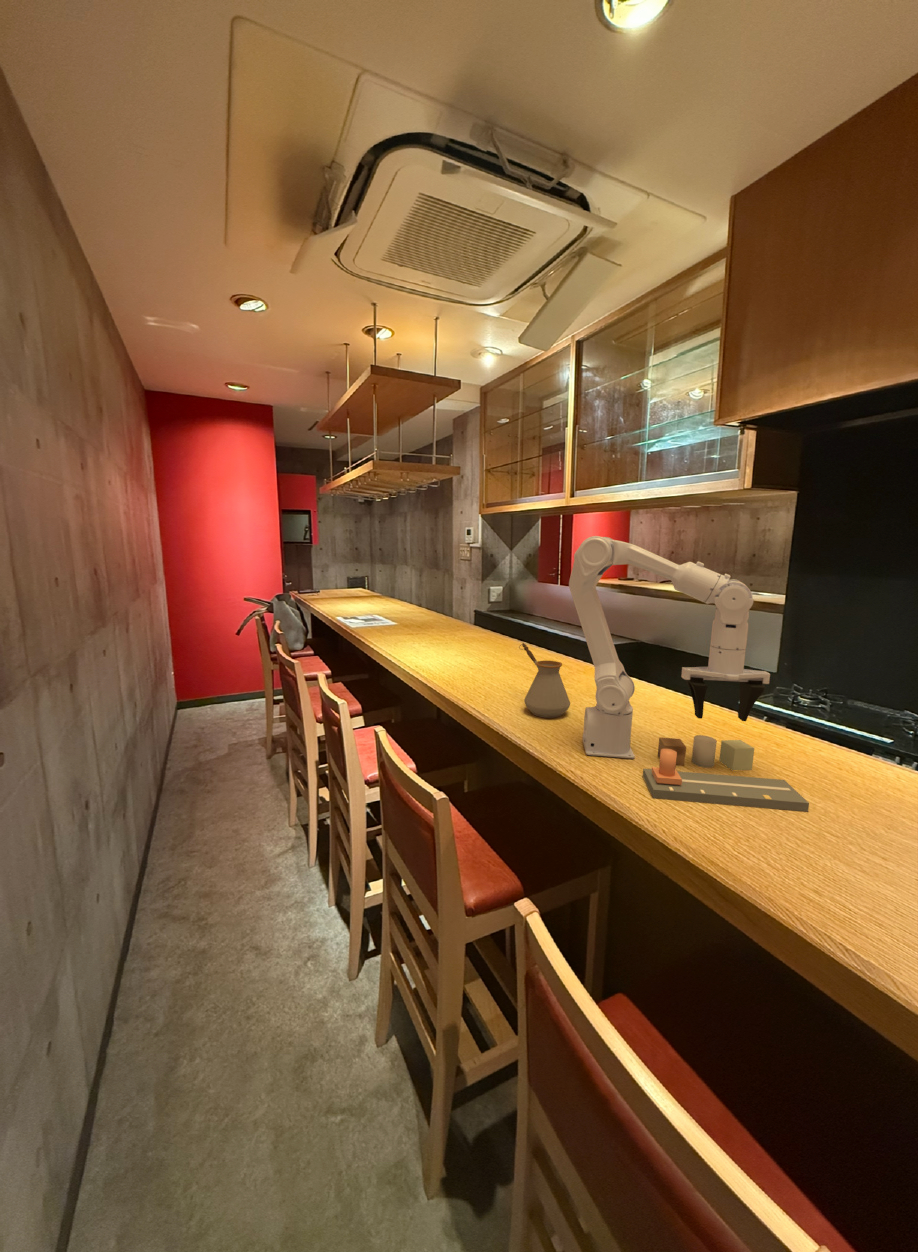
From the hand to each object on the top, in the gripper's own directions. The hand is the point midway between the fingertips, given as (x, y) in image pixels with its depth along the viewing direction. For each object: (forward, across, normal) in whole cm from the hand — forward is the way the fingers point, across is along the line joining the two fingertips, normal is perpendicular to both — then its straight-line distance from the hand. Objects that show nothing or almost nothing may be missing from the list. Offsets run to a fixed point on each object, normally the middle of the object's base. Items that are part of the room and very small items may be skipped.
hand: (720, 718), depth 91 cm
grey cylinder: (+10, -1, +3) cm, 11 cm away
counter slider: (+9, -11, -9) cm, 17 cm away
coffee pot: (+11, -33, +31) cm, 47 cm away
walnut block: (+11, -7, +3) cm, 13 cm away
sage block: (+11, +5, +3) cm, 12 cm away
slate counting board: (+10, -2, -9) cm, 14 cm away
